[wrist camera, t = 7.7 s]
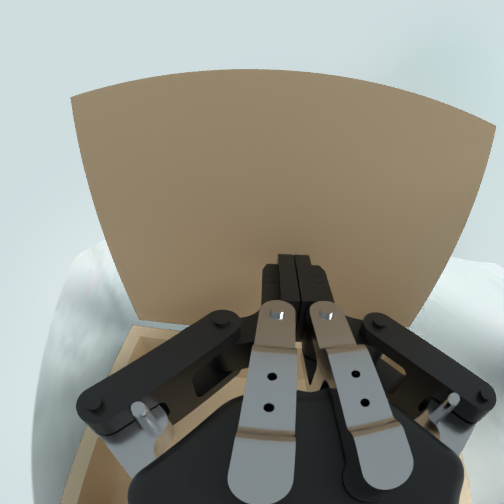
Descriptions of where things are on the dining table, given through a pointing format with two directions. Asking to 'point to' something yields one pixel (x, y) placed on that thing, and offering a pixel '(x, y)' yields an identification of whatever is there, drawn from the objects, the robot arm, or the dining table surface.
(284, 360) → the robot arm
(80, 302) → the dining table surface
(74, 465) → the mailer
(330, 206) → the lid
